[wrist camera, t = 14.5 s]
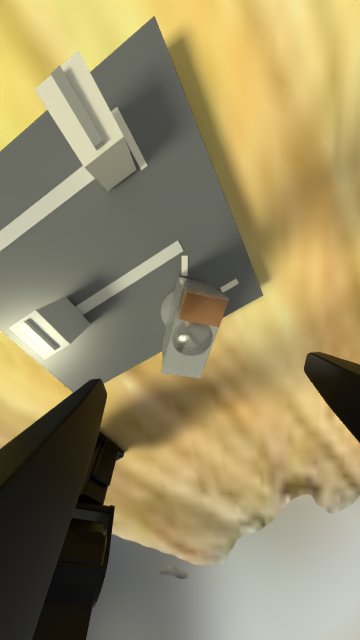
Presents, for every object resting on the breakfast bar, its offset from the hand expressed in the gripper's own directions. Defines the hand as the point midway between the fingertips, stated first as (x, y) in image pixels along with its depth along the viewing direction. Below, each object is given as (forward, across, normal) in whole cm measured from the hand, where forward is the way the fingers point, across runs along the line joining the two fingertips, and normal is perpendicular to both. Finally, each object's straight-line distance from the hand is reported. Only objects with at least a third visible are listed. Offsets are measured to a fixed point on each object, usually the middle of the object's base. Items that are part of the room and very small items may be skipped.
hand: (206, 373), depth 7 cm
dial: (+9, 0, 0) cm, 9 cm away
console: (+11, +6, -4) cm, 13 cm away
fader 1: (+9, +4, -11) cm, 15 cm away
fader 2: (+9, +10, -1) cm, 13 cm away
